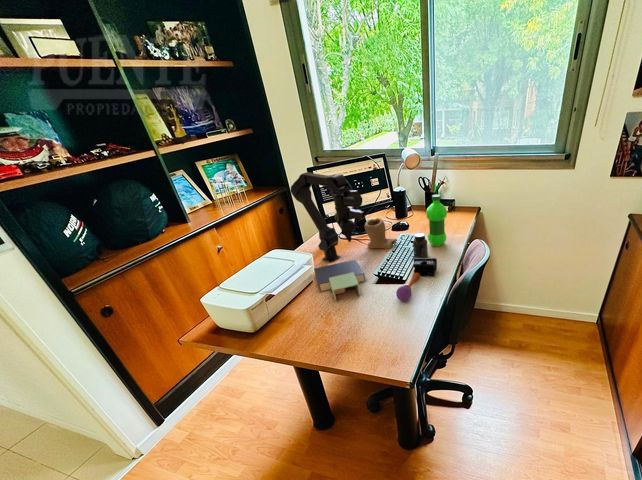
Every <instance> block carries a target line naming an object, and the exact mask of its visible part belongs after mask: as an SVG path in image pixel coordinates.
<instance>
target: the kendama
mask: <svg viewBox="0 0 642 480" xmlns="http://www.w3.org/2000/svg"><path fill="white" fill-rule="evenodd" d="M419 279H421V276H420V274H419V273H414V272H413V274H412V276H411V279H410V281H409V282H408V284H403V285H402V286H399V287H398V288H397V290H396V291H395V293H396V295H395V296H396V298H397V299H398V300H399V301H401V302H407V301H409V300H410V299H411V297H412V286H413V285H414V284H415V283H416V282H417V281H419Z"/></svg>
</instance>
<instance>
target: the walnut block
mask: <svg viewBox="0 0 642 480" xmlns="http://www.w3.org/2000/svg"><path fill="white" fill-rule="evenodd" d="M355 290H356V286H351V287H347V288H345V293H347V292H351V291H355Z"/></svg>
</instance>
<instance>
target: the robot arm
mask: <svg viewBox="0 0 642 480" xmlns="http://www.w3.org/2000/svg"><path fill="white" fill-rule="evenodd" d="M312 185H318V186H321V187H325V188H326V189H327V190H330V191H329V193H328V195H329V196H332V198H333V202H334V210H335V213H334V215H333V216H334V220H335V222H336V224H337V225H338V227H339V228H340V230H341V232H342V234H343V235H344V237H345V239H346V240H347V242H348V243H351V242H352V235H353V234H352V233H353V231H354V230H355V229H356V228H357V227H356V223H355V222H354V221H353V219H357V220H362V217H363V211H362V210H360V209H358V208H361V206H362V205H363V197H362V195H361V194H360V192H359V191H358V190H353V189H354V188H352V186H351V184H350V183H349V182H348V180H347V179H346V177H345V176H344V174H342V173H334V174H329V175H327V174H321V173H315V172H314V173H313V172H310V171H306V172H303V173H300V175H299V176H298V178H297V179H296V180H295V181H294V182H293V183H292V185H290V194H291V195H292V197H294V199H295V201H297V202H298V203H300V204H302V205H303V207H304V209H305V210H306V212H307V214H308V216H309V217H310V219H311V220H312V222H313V224H314V225H315V227H316V229H317V231H318V237H319V240H320V242H319V244H318V245H317V247H318V249H319V250H320V251H323V255H324V256H323V257H322V260H323V261H327V262H329V263H332V262H334V261H335V260H337V259H340V257H341V256H340V255H338V253H337V250H336V246H338V244H339V234H338V232H337V231H336V229H335V228H334V227H330V226H329V225H328V224H327V222H326V220H325V218H323V215H322V214H321V212H320V211H319V209H318V207H317V205H316V203H315V202H314V200H313V199H312V197H313V196H312V191H311V187H312Z"/></svg>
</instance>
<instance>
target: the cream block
mask: <svg viewBox="0 0 642 480" xmlns="http://www.w3.org/2000/svg"><path fill="white" fill-rule="evenodd" d="M343 293H346V290H345V288H343V289H339V290H335V295H338V294H343Z"/></svg>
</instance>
